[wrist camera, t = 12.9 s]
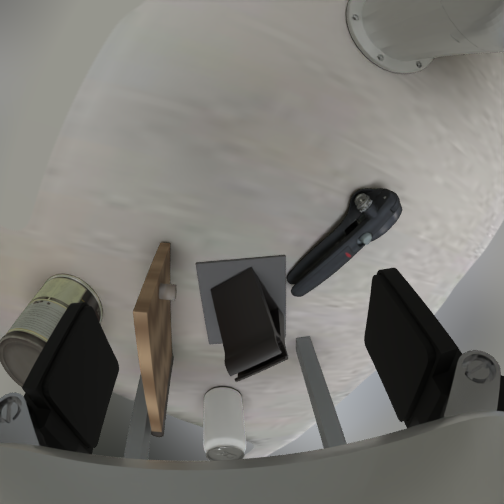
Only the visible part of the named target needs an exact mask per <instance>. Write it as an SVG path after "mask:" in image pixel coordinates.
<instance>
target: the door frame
mask: <svg viewBox="0 0 504 504" xmlns="http://www.w3.org/2000/svg"><path fill="white" fill-rule="evenodd" d="M296 352H297V355H298V359H299V362H300V366H301V369H302V373H303V376H304V380H305V383H306V387H307V390H308V394H309V397H310V401H311V404H312V408H313V411H314V415H315V418H316V422H317V425H318V429H319V433H320V436H321V440H322V443H323V447H324V448H330V447H335V446H339V445H344V444H346V441H345V437H344V434H343V431H342V428H341V426H340V423H339V420H338V417H337V414H336V411H335V408H334V405H333V402H332V399H331V396H330V393H329V390H328V387H327V384H326V382H325V379H324V376H323V373H322V370H321V367H320V364H319V362H318V359H317V356H316V353H315V350H314V347H313V345H312V342H311V339H310V336H309V337H301V338H296ZM150 439H151V425H150V420H149V415H148V410H147V405H146V400H145V394H144V388H143V383H142V376H141V375H140V380H139V384H138V389H137V393H136V398H135V402H134V407H133V412H132V417H131V422H130V427H129V432H128V437H127V443H126V448H125V454H124V458H129V459H142V460H148V454H149V446H150Z"/></svg>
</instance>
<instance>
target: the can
mask: <svg viewBox="0 0 504 504" xmlns="http://www.w3.org/2000/svg"><path fill="white" fill-rule="evenodd" d="M203 446H204V450H205V452H206V457H207V458H208V459H209V460H210V461H216V460H236V459H243V457H244V451H245V450H246V436H245V425H244V414H243V404H242V396H241V394H240V393H239V392H238V391H236V390H235V389H232V388H229V387H216V388H213V389H211V390H210V391H208V392H207V393H206V394H205V396H204V419H203Z"/></svg>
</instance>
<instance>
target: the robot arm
mask: <svg viewBox="0 0 504 504" xmlns="http://www.w3.org/2000/svg"><path fill="white" fill-rule="evenodd" d="M346 15H347V24H348V28H349V31H350V33H351V36H352V38H353V40H354V42H355V43H356V45H357V46H358V48H359V49H360V50H361V51H362V53H363V54H364V55H365V56H366V57H367V58H368V59H370V60H371V61H372V62H373V63H375V64H376V65H378V66H379V67H381V68H383V69H385V70H388V71H390V72H394V73H401V74H408V73H415V72H418V71H421V70H422V69H424V68H426V67H427V66H428V65H429V64H430V63H431V62H432V60H433V58H434V57H442V56H451V55H465V54H475V53H492V52H504V0H349V2H348V5H347V11H346ZM353 18H354V19H355V20H353ZM377 57H378V58H379V60H378V59H377ZM364 341H365V346H366V348H367V350H368V353H369V355H370V357H371V359H372V361H373V363H374V365H375V368H376V370H377V372H378V374H379V376H380V378H381V381H382V383H383V385H384V387H385V390H386V392H387V394H388V396H389V399H390V401H391V403H392V405H393V408H394V410H395V412H396V415H397V417H398V419H399V420H400V421H401V422H402V421H404V422H405V425H406V427H407V429H404V430H401V431H397V432H393V433H389V434H386V435H382V436H378V437H374V438H370V439H366V440H362V441H358V442H354V443H349V444H344V445H339V446H335V447H330V448H324V449H319V450H313V451H308V452H301V453H294V454H287V455H278V456H270V457H260V458H249V459H236V460H216V461H163V460H142V459H129V458H118V457H108V456H100V455H93V454H92V450H93V448H95V447H96V446H97V444H98V440H99V437H100V433H101V429H102V425H103V422H104V418H105V415H106V411H107V407H108V404H109V401H110V398H111V394H112V391H113V388H114V385H115V381H116V378H117V375H118V372H119V365H118V361H117V359H116V357H115V355H114V353H113V351H112V349H111V347H110V345H109V343H108V341H107V338H106V336H105V334H104V332H103V330H102V327H101V325H100V323H99V321H98V318H97V316H96V314H95V311H94V309H93V307H92V306H89V305H88V304H87V303H86V302H80V303H71V304H70V305H69V306H68V308H67V309H66V311H65V313H64V314H63V316H62V317H61V319H60V321H59V322H58V324H57V326H56V327H55V329H54V331H53V332H52V334H51V336H50V337H49V339H48V341H47V342H46V344H45V346H44V348H43V349H42V351H41V353H40V355H39V356H38V358H37V360H36V362H35V364H34V366H33V367H32V369H31V371H30V373H29V375H28V377H27V379H26V381H25V383H24V384H23V386H22V388H23V390H24V391H25V395H24V397H23V396H22V395H21V394H19V393H9V394H6V395H4V396H3V397H1V398H0V504H504V376H501V372H500V366H499V364H498V362H497V361H496V360H495V359H494V357H492V356H491V355H490V354H488V353H486V352H483V351H478V350H473V351H468V352H465V353H463V354H462V353H461V352H460V350H459V349H458V347H457V346H456V344H455V343H454V341H453V340H452V339H451V337H450V336H449V335H448V333H447V332H446V331H445V329H444V328H443V327H442V325H441V324H440V323H439V321H438V320H437V319H436V317H435V316H434V315H433V313H432V312H431V311H430V309H429V308H428V307H427V306H426V304H425V303H424V302H423V301H422V299H421V298H420V297H419V296H418V294H417V293H416V292H415V291H414V289H413V288H412V287H411V286H410V284H409V283H408V282H407V281H406V280H405V278H404V277H403V276H402V275H401V274H400V272H399V271H398V270H397V269H396V268H389V269H383V270H379V271H378V272H377V275H374V276H373V278H372V286H371V294H370V302H369V310H368V317H367V324H366V330H365V337H364Z"/></svg>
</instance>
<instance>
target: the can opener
mask: <svg viewBox="0 0 504 504" xmlns="http://www.w3.org/2000/svg"><path fill="white" fill-rule="evenodd" d="M401 212H402V207H401V204H400V200H399V197H398V196H397V194H396V193H394V192H393V191H390V190H388V189H382V188H379V189H361V190H359V191H357V192H356V193H354V195H353V196H352V198H351V201H350V207H349V212H348V214H347V216H346V217H345V219H344V220H343V221H342V223H341V224H340V225H339V226H338V227H337V228H336V229H335V230H334V231H333V232H332V233H331V234H330V235H329V236H328V237H326V238H325V239H324V240H323V241H322V242H321V243H320V244H318V245H317V246H316V247H315V248H314V249H313V250H312V251H310V252H309V253H308V254H307V255H306V256H305V257H304V258H303V259H302V260H301V261H300V262H299V263H298V264H297V265H296V266H295V268H294V269H293V270H292V271H291V272H290V273H289V275H288V277H287V281H288V282H289V283H290V284H295V285H294V286H293V288H292V289H291V293H292V295H293V296H297V297H300V296H303V295H305V294H307V293H308V292H309V291H311V290H312V289H314V288H315V287H317V286H318V285H319V284H321V283H322V282H323V281H325V280H326V279H327V278H329V277H330V276H331V275H332V274H334V273H335V272H336V271H337V270H339V269H340V268H341V267H342V266H343V265H344V264H345V263H347V262H348V261H349V260H350V259H351V258H352V257H353V256H354V255H355V254H356V253H357V252H358V251H359V250H360V249H361V248H363V247H364V246H365V245H367V244H369V242H371V241H374V240H376V239H377V238H379V237H380V236H382V235H383V234H384V233H386V232H387V231H388V230H389V229H390V228H391V227H392V226H393V225H394V224H395V222H396V221H397V220H398V218H399V217H400V215H401Z"/></svg>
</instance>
